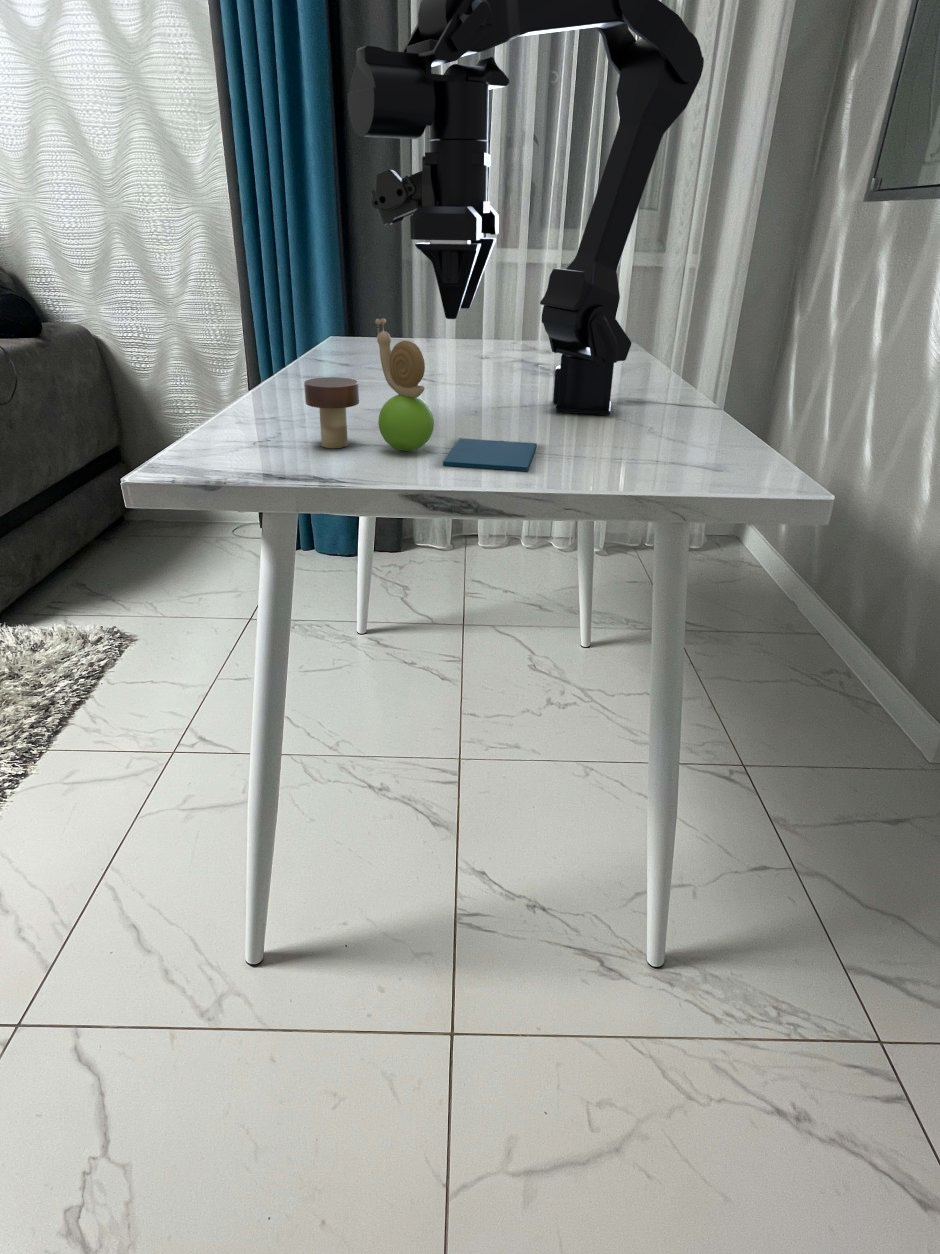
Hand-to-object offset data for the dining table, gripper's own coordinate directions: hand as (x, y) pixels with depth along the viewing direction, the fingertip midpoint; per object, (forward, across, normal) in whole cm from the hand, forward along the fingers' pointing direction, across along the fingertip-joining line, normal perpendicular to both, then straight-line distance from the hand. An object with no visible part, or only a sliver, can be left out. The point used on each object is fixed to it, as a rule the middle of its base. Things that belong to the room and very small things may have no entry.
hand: (458, 313), depth 86 cm
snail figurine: (+12, +12, -4) cm, 17 cm away
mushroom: (+11, +12, -11) cm, 20 cm away
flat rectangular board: (+12, +12, +5) cm, 18 cm away
